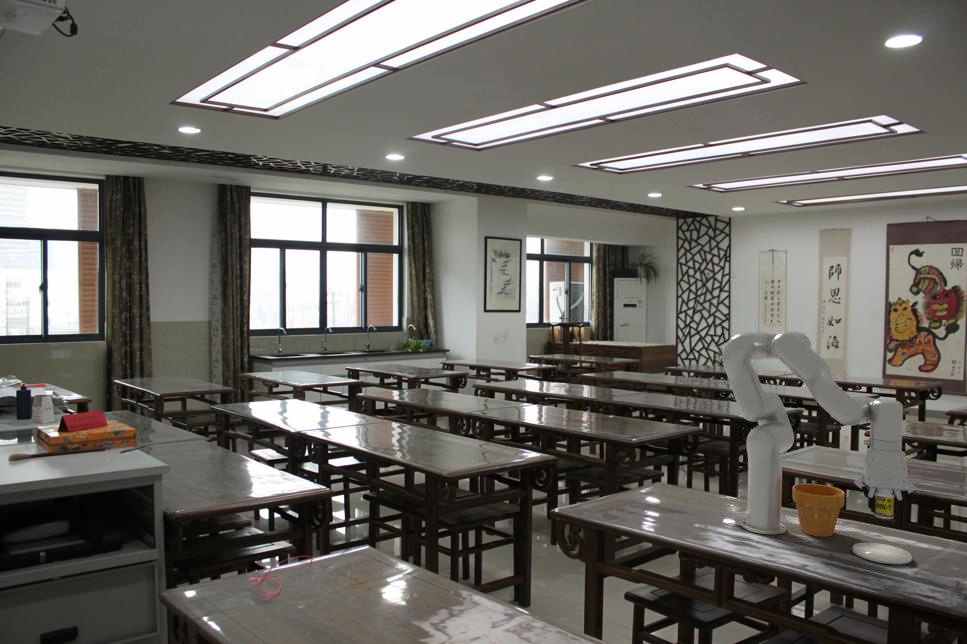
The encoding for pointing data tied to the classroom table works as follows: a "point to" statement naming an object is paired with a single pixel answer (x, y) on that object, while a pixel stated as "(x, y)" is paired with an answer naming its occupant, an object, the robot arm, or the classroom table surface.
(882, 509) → the supplement bottle
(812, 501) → the flower pot
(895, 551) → the dish
